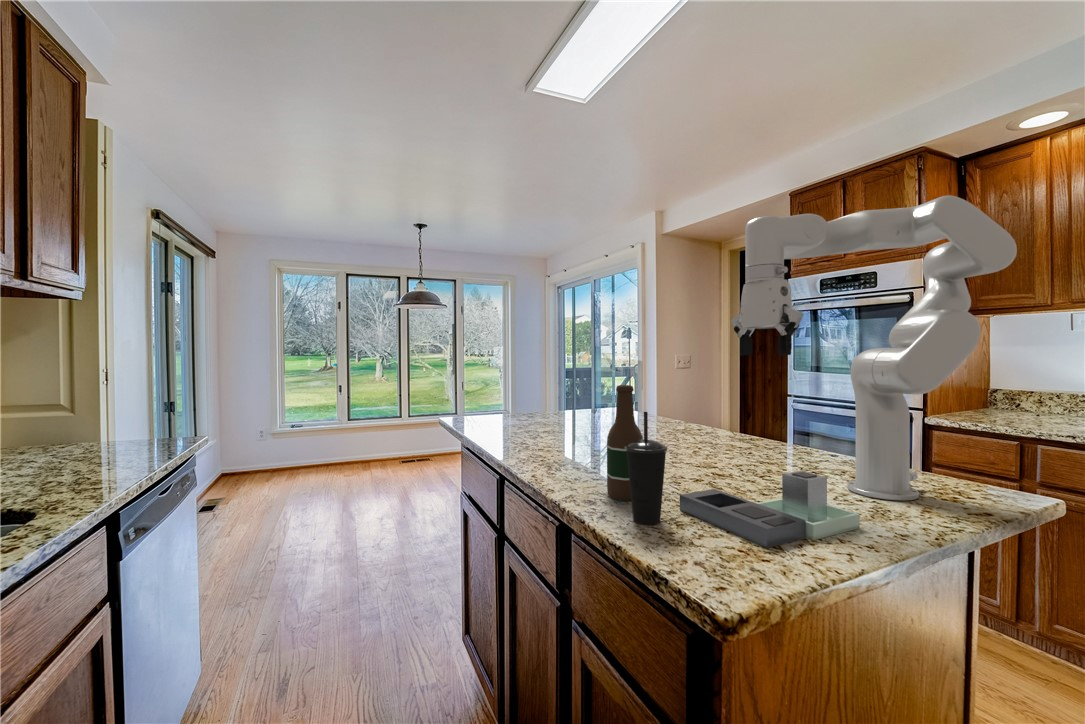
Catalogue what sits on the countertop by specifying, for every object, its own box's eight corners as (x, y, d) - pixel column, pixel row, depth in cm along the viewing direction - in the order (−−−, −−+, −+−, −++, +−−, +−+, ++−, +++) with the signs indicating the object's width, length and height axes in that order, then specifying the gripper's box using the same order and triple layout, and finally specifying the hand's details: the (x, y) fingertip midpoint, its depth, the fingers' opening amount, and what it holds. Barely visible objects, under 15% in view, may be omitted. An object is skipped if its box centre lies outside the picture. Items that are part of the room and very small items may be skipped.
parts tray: (796, 508, 91) (796, 495, 91) (859, 528, 80) (859, 514, 80) (752, 517, 86) (752, 503, 86) (813, 540, 75) (813, 524, 75)
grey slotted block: (714, 503, 94) (714, 488, 94) (805, 538, 76) (805, 519, 76) (679, 509, 90) (679, 494, 90) (767, 548, 72) (766, 528, 72)
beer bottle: (644, 503, 95) (643, 386, 94) (606, 500, 96) (605, 386, 96) (643, 492, 102) (642, 384, 102) (608, 490, 104) (607, 384, 104)
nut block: (801, 513, 86) (801, 469, 86) (826, 521, 82) (826, 475, 82) (782, 517, 84) (782, 472, 84) (807, 526, 80) (807, 479, 80)
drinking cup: (640, 510, 90) (639, 408, 90) (675, 520, 84) (675, 411, 84) (617, 520, 85) (616, 412, 84) (653, 531, 79) (652, 415, 79)
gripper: (813, 270, 93) (814, 354, 93) (744, 283, 109) (744, 355, 109) (788, 267, 90) (788, 354, 90) (720, 281, 106) (720, 355, 106)
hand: (764, 355), depth 100 cm, fingers open, 9 cm apart
